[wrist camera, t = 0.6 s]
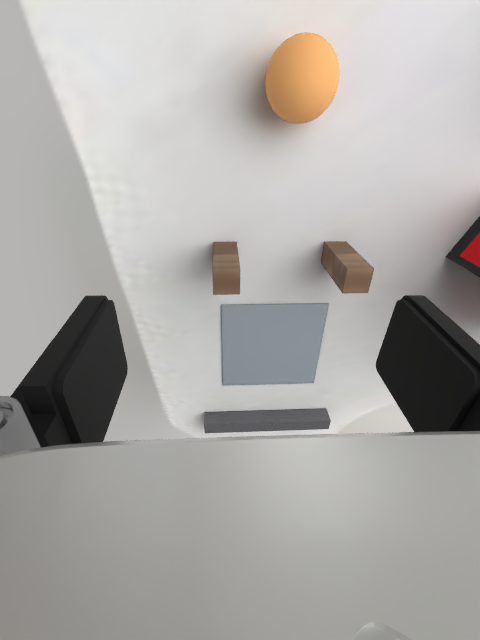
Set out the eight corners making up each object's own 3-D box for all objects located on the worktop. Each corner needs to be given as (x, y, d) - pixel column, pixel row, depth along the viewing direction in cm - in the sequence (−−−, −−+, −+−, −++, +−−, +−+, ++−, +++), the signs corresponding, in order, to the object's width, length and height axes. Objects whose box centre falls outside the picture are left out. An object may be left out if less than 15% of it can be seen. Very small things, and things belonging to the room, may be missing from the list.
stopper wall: (204, 412, 51) (204, 424, 49) (326, 408, 53) (330, 420, 50) (205, 420, 53) (204, 433, 50) (324, 416, 54) (328, 428, 52)
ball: (263, 40, 27) (273, 22, 22) (332, 42, 28) (357, 25, 22) (260, 122, 30) (268, 123, 25) (321, 123, 31) (341, 124, 26)
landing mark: (221, 304, 41) (221, 305, 41) (328, 303, 42) (328, 304, 41) (222, 384, 48) (222, 385, 48) (313, 382, 49) (313, 383, 49)
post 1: (213, 241, 36) (212, 269, 30) (236, 241, 37) (240, 269, 30) (214, 263, 38) (213, 294, 31) (236, 263, 38) (239, 294, 31)
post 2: (324, 241, 37) (347, 269, 30) (346, 241, 37) (374, 268, 30) (321, 262, 38) (342, 293, 32) (342, 262, 39) (367, 292, 32)
